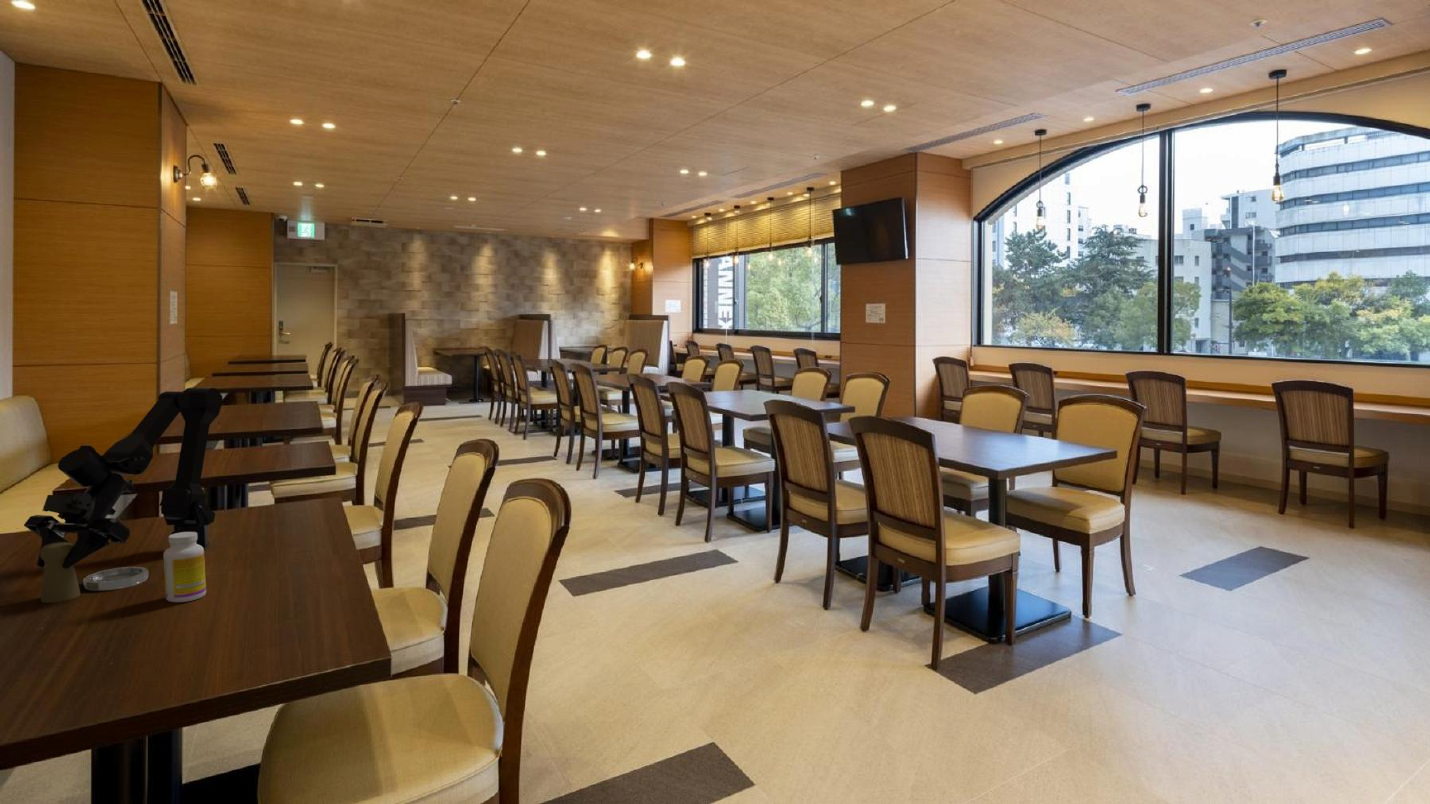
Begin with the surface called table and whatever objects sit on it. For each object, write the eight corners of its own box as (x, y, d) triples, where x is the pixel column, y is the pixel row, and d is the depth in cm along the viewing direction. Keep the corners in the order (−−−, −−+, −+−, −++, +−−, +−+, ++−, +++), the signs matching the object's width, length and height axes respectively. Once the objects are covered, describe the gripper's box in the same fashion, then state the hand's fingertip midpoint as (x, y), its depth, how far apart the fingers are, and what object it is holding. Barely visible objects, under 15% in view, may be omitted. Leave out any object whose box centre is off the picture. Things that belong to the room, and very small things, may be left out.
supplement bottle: (214, 594, 154) (211, 532, 153) (182, 605, 148) (178, 540, 147) (190, 590, 156) (187, 528, 155) (157, 601, 150) (154, 537, 149)
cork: (57, 603, 148) (53, 548, 147) (32, 601, 149) (28, 546, 148) (88, 593, 154) (85, 540, 153) (64, 590, 155) (60, 538, 154)
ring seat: (154, 572, 167) (154, 564, 167) (138, 587, 157) (137, 579, 157) (96, 577, 163) (95, 569, 163) (75, 593, 154) (75, 585, 153)
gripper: (29, 476, 154) (-25, 544, 144) (114, 479, 152) (65, 549, 142) (69, 505, 162) (20, 572, 153) (149, 508, 161) (105, 576, 151)
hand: (51, 567), depth 149 cm, fingers open, 5 cm apart
